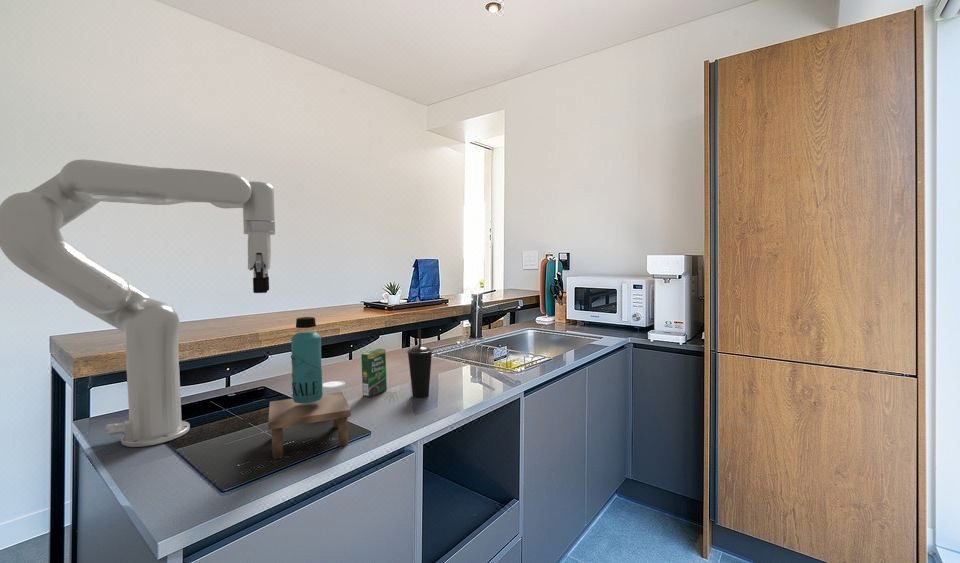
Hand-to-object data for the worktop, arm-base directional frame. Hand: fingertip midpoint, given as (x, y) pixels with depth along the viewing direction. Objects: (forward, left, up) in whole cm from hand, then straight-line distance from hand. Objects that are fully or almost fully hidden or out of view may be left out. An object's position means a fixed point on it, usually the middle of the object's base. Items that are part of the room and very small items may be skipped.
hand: (261, 291), depth 113 cm
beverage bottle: (+10, -28, -24) cm, 38 cm away
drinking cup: (+42, -9, -32) cm, 54 cm away
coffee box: (+30, -1, -32) cm, 44 cm away
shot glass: (+17, -9, -32) cm, 38 cm away
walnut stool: (+10, -28, -32) cm, 44 cm away
